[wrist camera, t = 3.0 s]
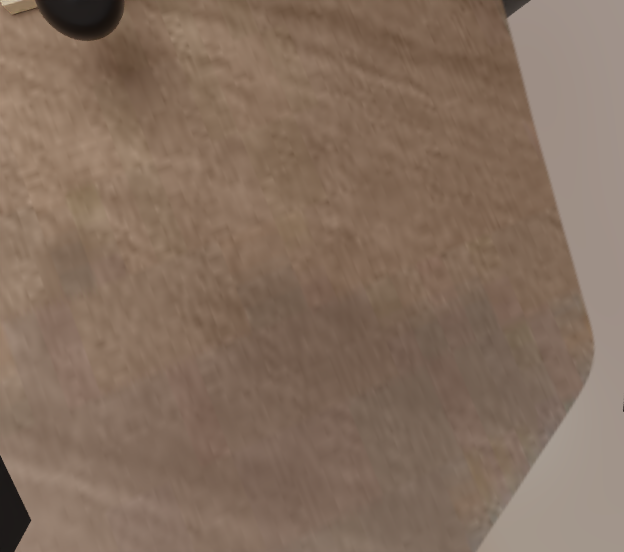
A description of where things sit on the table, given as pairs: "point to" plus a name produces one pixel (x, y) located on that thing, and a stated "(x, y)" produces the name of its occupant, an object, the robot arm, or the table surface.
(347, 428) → the table surface
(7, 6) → the bracket
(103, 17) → the lever
